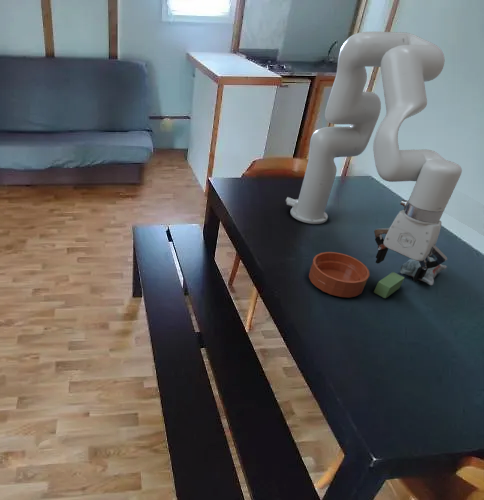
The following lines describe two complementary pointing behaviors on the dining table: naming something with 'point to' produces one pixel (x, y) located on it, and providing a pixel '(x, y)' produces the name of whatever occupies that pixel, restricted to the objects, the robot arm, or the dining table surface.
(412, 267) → the packaged food
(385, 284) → the bar
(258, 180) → the dining table surface
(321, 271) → the bowl
